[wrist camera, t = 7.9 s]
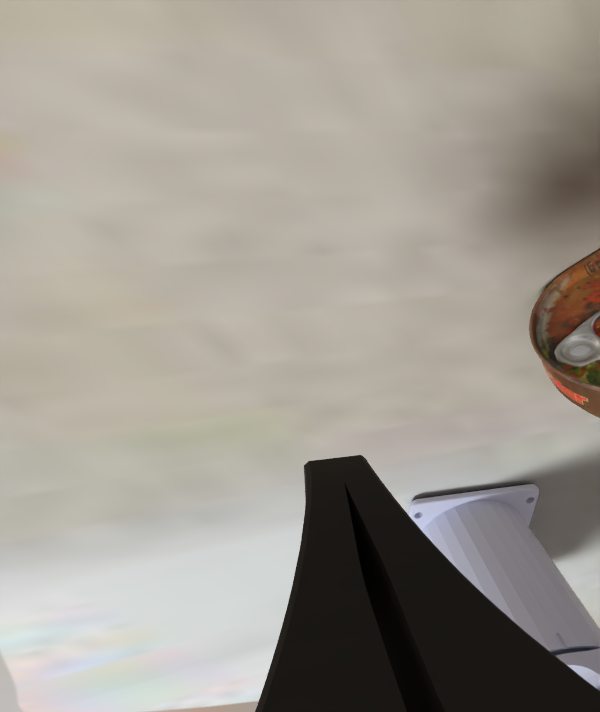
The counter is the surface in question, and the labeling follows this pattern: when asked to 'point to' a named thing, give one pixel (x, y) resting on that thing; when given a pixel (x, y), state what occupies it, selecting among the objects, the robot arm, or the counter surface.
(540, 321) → the tin
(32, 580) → the counter surface
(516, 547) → the robot arm
